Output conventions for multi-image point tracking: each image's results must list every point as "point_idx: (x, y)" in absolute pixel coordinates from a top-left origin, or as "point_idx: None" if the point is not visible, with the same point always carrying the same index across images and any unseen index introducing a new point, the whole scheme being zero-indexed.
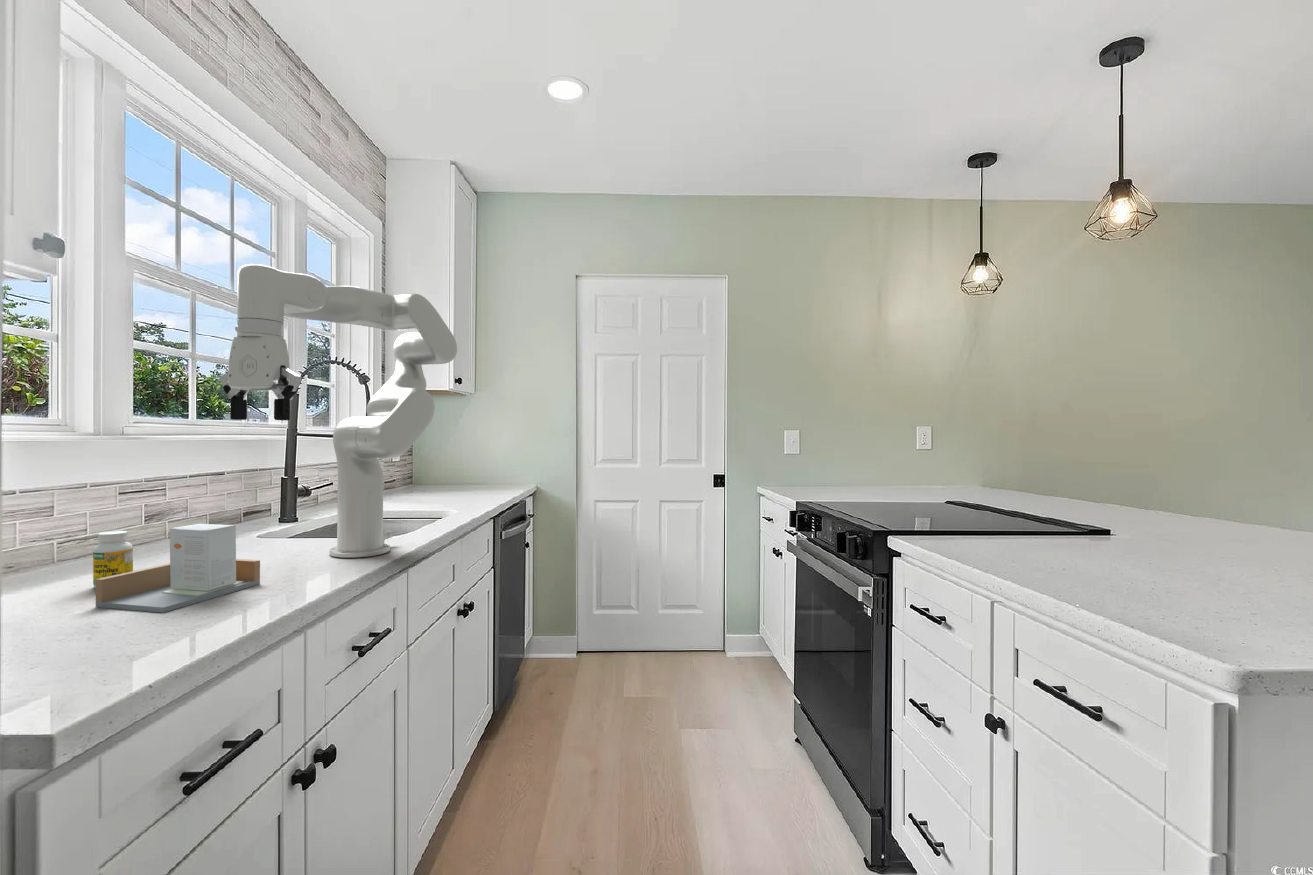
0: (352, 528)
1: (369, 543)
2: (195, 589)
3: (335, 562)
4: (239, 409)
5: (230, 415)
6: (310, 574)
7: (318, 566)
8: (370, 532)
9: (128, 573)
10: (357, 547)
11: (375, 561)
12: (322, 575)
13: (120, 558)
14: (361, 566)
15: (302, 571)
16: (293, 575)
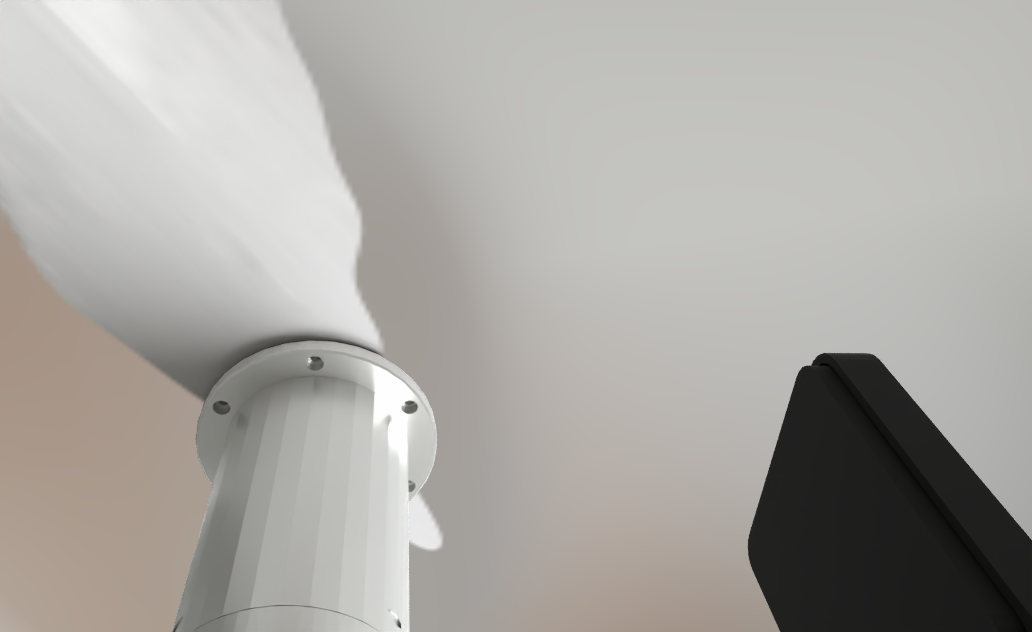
0: (273, 445)
1: (230, 433)
2: None
3: (282, 273)
4: (851, 568)
5: (895, 381)
6: (199, 52)
7: (293, 195)
8: (219, 469)
9: None
10: (265, 397)
11: (129, 323)
12: (128, 45)
13: None
14: (107, 232)
15: (283, 97)
16: (258, 19)
